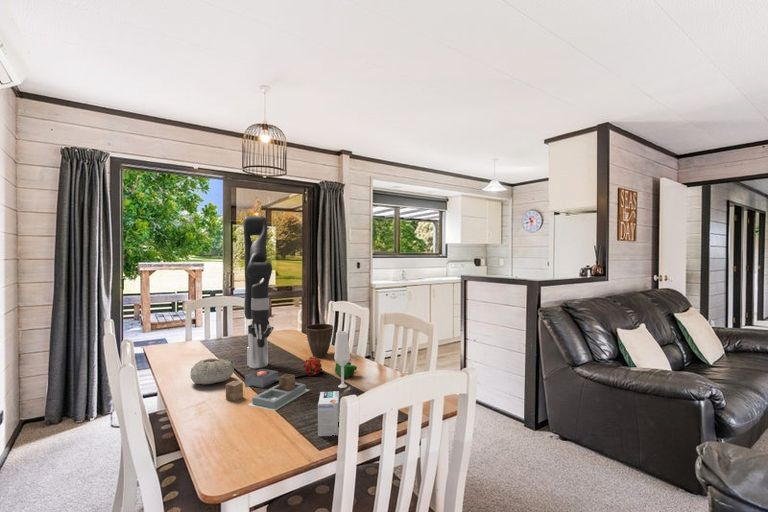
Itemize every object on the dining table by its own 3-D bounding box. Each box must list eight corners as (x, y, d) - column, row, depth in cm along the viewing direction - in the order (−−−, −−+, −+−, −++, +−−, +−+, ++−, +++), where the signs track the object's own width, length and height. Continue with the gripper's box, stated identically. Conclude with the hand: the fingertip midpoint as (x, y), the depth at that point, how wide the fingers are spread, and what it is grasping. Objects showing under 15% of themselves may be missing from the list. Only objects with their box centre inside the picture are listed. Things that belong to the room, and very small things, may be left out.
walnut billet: (226, 401, 156) (225, 384, 155) (234, 397, 160) (234, 380, 159) (234, 403, 154) (234, 386, 153) (243, 399, 158) (242, 382, 158)
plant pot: (339, 354, 219) (338, 325, 219) (321, 361, 207) (320, 330, 206) (318, 350, 227) (318, 322, 227) (300, 356, 215) (299, 327, 214)
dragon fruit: (314, 372, 194) (314, 384, 182) (299, 364, 192) (299, 375, 180) (324, 358, 193) (325, 370, 182) (310, 350, 191) (310, 361, 180)
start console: (245, 386, 171) (244, 375, 171) (261, 379, 180) (260, 368, 180) (263, 390, 167) (262, 378, 167) (278, 382, 176) (278, 371, 176)
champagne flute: (338, 392, 164) (337, 335, 163) (332, 387, 170) (331, 331, 169) (353, 389, 167) (352, 333, 166) (347, 384, 173) (346, 330, 172)
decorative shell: (224, 372, 190) (223, 352, 190) (240, 381, 178) (240, 359, 177) (184, 382, 178) (184, 360, 178) (199, 392, 165) (198, 369, 165)
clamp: (352, 385, 184) (359, 369, 181) (340, 384, 181) (347, 368, 178) (344, 368, 194) (351, 353, 191) (333, 368, 191) (340, 352, 188)
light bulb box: (320, 421, 138) (319, 391, 137) (339, 420, 138) (339, 390, 138) (317, 437, 127) (317, 404, 127) (338, 435, 128) (338, 403, 127)
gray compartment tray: (247, 407, 150) (247, 398, 150) (284, 387, 170) (284, 379, 170) (274, 413, 145) (274, 404, 145) (309, 392, 165) (309, 383, 165)
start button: (255, 382, 173) (255, 373, 173) (261, 379, 176) (261, 370, 176) (262, 383, 171) (262, 374, 171) (268, 380, 175) (268, 371, 175)
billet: (279, 394, 160) (278, 377, 160) (286, 390, 164) (286, 373, 164) (288, 395, 158) (287, 378, 158) (295, 391, 163) (294, 375, 162)
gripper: (242, 308, 172) (243, 347, 173) (266, 310, 166) (267, 351, 167) (254, 305, 179) (255, 343, 179) (278, 307, 173) (278, 346, 174)
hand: (261, 347), depth 173 cm, fingers closed
